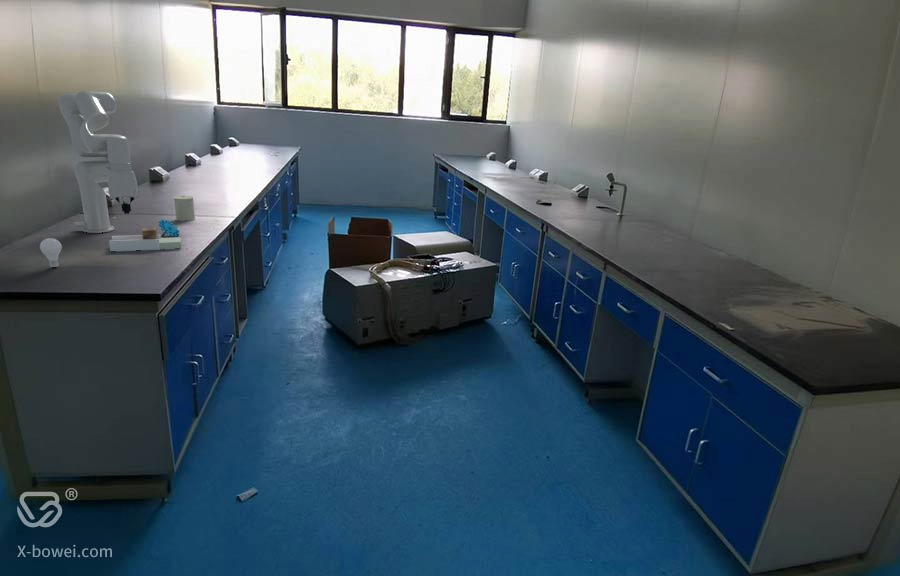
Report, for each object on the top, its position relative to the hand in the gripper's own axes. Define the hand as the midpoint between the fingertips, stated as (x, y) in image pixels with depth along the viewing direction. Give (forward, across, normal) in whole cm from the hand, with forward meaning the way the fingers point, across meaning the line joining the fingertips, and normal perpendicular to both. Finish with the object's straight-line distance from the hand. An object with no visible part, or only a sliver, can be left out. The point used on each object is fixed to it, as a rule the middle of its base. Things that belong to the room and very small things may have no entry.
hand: (127, 213), depth 221 cm
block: (+12, +7, +1) cm, 14 cm away
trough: (+15, +6, +1) cm, 16 cm away
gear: (+15, +14, +21) cm, 29 cm away
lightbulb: (+15, -22, -23) cm, 36 cm away
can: (+14, +19, +58) cm, 62 cm away
